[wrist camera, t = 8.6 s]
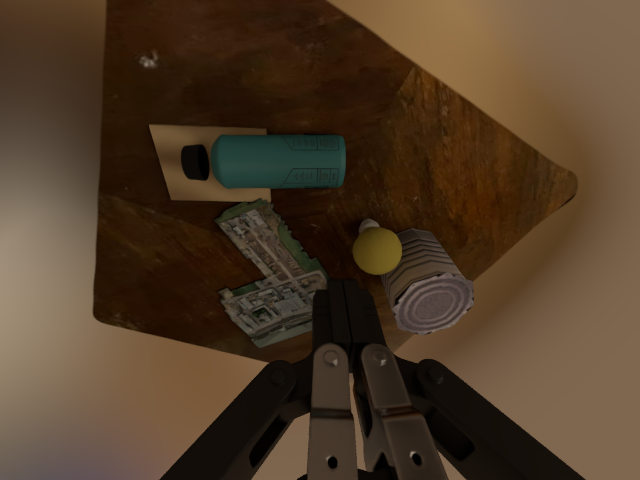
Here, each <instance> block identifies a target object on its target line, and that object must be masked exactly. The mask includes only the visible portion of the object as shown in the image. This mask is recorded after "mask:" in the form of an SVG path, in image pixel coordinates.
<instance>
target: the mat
mask: <svg viewBox="0 0 640 480" xmlns="http://www.w3.org/2000/svg"><path fill="white" fill-rule="evenodd" d="M149 127H150V131H151V134H152V137H153V141H154V144H155V147H156V151H157V154H158V157H159V161H160V164H161V167H162V171H163V174H164V177H165V181H166V184H167V187H168V191H169V194H170V197H171V200H195V201H241V202H244V201H246V202H253V201H255V200H257V199H259V198H262V200H265V199H267V201H268V202H271V190H270V189H269V188H234V189H226V188H225V187H223V186H222V185H221V184H220V183H219V182H218V181H217V180H216V179H215V177H214V175H213V171H212V166H211V147H212V145H213V143H214V142H215V141H216V139H217V138H218V137H219V136H220V135H222V134H225V135H267V129H266V128H243V127H217V126H192V125H166V124H150V125H149ZM196 144H202V145H204V147H205V148H206V151H207V154H208V158H209V166H210V171H209V177H208V180H206V181H200V180H190V179H188V178H187V177H186V176H185V174H184V172H183V169H182V165H181V151H182V148H183V147H184V146H186V145H196Z"/></svg>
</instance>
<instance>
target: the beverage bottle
mask: <svg viewBox="0 0 640 480" xmlns="http://www.w3.org/2000/svg"><path fill="white" fill-rule="evenodd" d="M272 134H273V133H272ZM280 134H281V133H280ZM282 134H283V135H279V134H278V135H225V134H222V135H220V136H219V137H218V138H217V139H216V141H215V142H214V143H213V145H212V147H211V166H212V171H213V175H214V177H215V179H216V180H217V181H218V182H219V183H220V184H221V185H222V186H223V187H225V188H226V189H234V188H269V189H270V188H277V189H278V188H287V189H290V188H296V189H298V188H304V189H328V187H332V188H334V187H335V188H336V187H340V186H342V184H343V181H344V175H345V164H346V151H345V142H344V138H343V137H342V136H339V135H337V134H336V135H335V134H334V135H329V134H328V135H327V134H317V133H315V134H306V133H304V135H292V133H288V135H284V133H282ZM289 134H291V135H289ZM293 134H294V133H293ZM181 165H182V169H183V172H184V174H185V176H186V177H187V178H188V179H190V180H200V181H206V180H208V177H209V171H210V166H209V158H208V154H207V151H206V148H205V147H204V145H202V144H196V145H186V146H184V147H183V148H182V151H181ZM330 189H331V188H330ZM275 190H276V189H275ZM284 190H285V189H284Z"/></svg>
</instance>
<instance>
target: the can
mask: <svg viewBox="0 0 640 480" xmlns="http://www.w3.org/2000/svg"><path fill="white" fill-rule="evenodd" d="M396 235H397V237H398V239H399V240H400V242H401V246H402V256H401V259H400V261H399V263H398V265H397V266H396V267H395V268H394V269H393V270H391V271H390V272H388V273H386V274H381V275H380V277H381V280H382V283H383V286H384V288H385V291H386V294H387V297H388V300H389V303H390V306H391V309H392V312H393V315H394V316H395V319H396V322H397V326H398V329H400V330H404V331H408V332H412V333H416V334H419V335H426V334H429V333H432V332H435V331H438V330H442V329H445V328H448V327H451V326H453V325H454V324H455V323H456V322H457V321H458V320H459V319H460V318H461V317H462V316H463V315H464V314H465V313H466V312H467V311H468V310H469V309H470V308H471V307H472V306H473V305H474V298H473V292H474V291H473V282H472V281H469V280H467V279H465V278H464V277H463V275H462V274H461V273H460V271H459V270H458V268H457V267H456V266H455V264H454V263H453V261H452V260H451V259H450V257H449V256H448V254H447V253H446V252H445V250H444V249H443V247H442V246H441V245H440V243H439V242H438V241H437V239H436V238H435V237H434V236H433V234H432V233H431V232H429V231H424V230H418V229H412V228H411V229H408V230H405V231H402V232H400V233H397V234H396Z"/></svg>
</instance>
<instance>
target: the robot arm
mask: <svg viewBox="0 0 640 480" xmlns="http://www.w3.org/2000/svg"><path fill="white" fill-rule="evenodd" d="M312 348H313V350H312V352H311V353H310V355H309V356H308V357H306V358H305V359H303V360H301V361H299V362H296V363H293V364H290V363H289V362H287V361H284V360H276V361H273V362H271V363H269V364H267V365H266V366H265V367H264V368H263V369H262V371H261V372H260V373H259V374H258V375H257V376H256V377H255V378H254V379H253V380H252V381H251V382H250V383H249V385H248V386H247V387H246V388H245V389H244V390H243V391H242V392H241V393H240V394H239V395H238V396H237V397H236V398H235V399H234V401H233V402H232V403H231V404H230V405H229V406H228V407H227V408H226V409H225V410H224V411H223V412H222V413H221V414H220V415H219V417H218V418H217V419H216V420H215V421H214V422H213V423H212V424H211V425H210V426H209V427H208V428H207V429H206V430H205V432H204V433H203V434H202V435H201V436H200V437H199V438H198V439H197V440H196V441H195V442H194V443H193V444H192V445H191V446H190V448H189V449H188V450H187V451H186V452H185V453H184V454H183V455H182V456H181V457H180V458H179V459H178V460H177V461H176V463H175V464H174V465H173V466H172V467H171V468H170V469H169V470H168V471H167V472H166V473H165V474H164V475H163V476H162V477H161V479H160V480H251V479H252V478H253V476H254V475H255V473H256V472H257V470H258V469H259V468H260V466H261V465H262V464H263V462H264V461H265V459H266V458H267V457H268V455H269V454H270V452H271V451H272V450H273V448H274V447H275V445H276V444H277V442H278V441H279V440H280V438H281V437H282V436H283V434H284V433H285V431H286V430H287V429H288V427H289V426H290V424H291V423H292V422H293V420H294V419H295V418H297V417H300V416H302V415H304V414H307V413H309V412H310V426H309V443H308V444H309V445H308V462H307V474H305V475H303V476H302V477H300V478H298V479H297V480H449V479H448V477H447V474H446V472H445V469H444V467H443V464H442V461H441V459H440V456H439V454H438V451H439V452H440V453H441V454H442V455H443V456H444V457H445V458H446V459H447V460H448V461H449V462H450V463H451V464H452V465H453V466H454V467H455V468H456V469H457V470H458V471H459V472H460V474H461V475H462V476H463V477H464V478H465V479H466V480H585V479H584V478H583V477H582V476H580V475H579V474H578V473H577V472H575V471H574V470H573V469H572V468H571V467H569V466H568V465H566V463H564V462H563V461H562V460H561V459H559V458H558V457H557V456H556V455H554V454H553V453H552V452H551V451H549V450H548V449H547V448H546V447H544V446H543V445H542V444H541V443H540V442H538V441H537V440H536V439H535V438H533V437H532V436H531V435H530V434H528V433H527V432H526V431H525V430H523V429H522V428H521V427H520V426H518V425H517V424H516V423H515V422H514V421H512V420H511V419H510V418H509V417H507V416H506V415H505V414H504V413H502V412H501V411H500V410H499V409H497V408H496V407H495V406H494V405H492V404H491V403H490V402H489V401H487V400H486V399H485V398H484V397H483V396H481V395H480V394H479V393H477V392H476V391H475V390H474V389H473V388H471V387H470V386H469V385H467V384H466V383H465V382H464V381H463V380H461V379H460V378H459V377H458V376H456V375H455V374H454V373H453V372H451V371H450V370H449V369H448V368H447V367H445V366H444V365H443V364H441V363H440V362H438V361H436V360H433V359H424V360H422V361H420V362H419V363H418V364H417V363H414V362H411V361H407V360H404V359H401V358H399V357H397V356H396V355H394V354H393V353H392V352H391V350H390V349H389V348H388V347H387V345H386V342H385V339H384V335H383V332H382V328H381V324H380V321H379V317H378V313H377V310H376V306H375V302H374V299H373V297H372V295H371V294H370V293H369V292H368V290H359V287H358V282H357V280H356V279H342V280H341V279H327V281H326V289H317V290H316V292H315V294H314V296H313V304H312ZM349 373H353V378H354V385H353V394H354V398H355V404H356V408H357V413H358V418H359V423H360V427H361V432H362V437H363V443H364V461H365V466H366V471H364V470H361V469H357V456H356V441H355V427H354V418H353V414H352V413H351V403H350V387H349ZM437 450H438V451H437Z"/></svg>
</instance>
